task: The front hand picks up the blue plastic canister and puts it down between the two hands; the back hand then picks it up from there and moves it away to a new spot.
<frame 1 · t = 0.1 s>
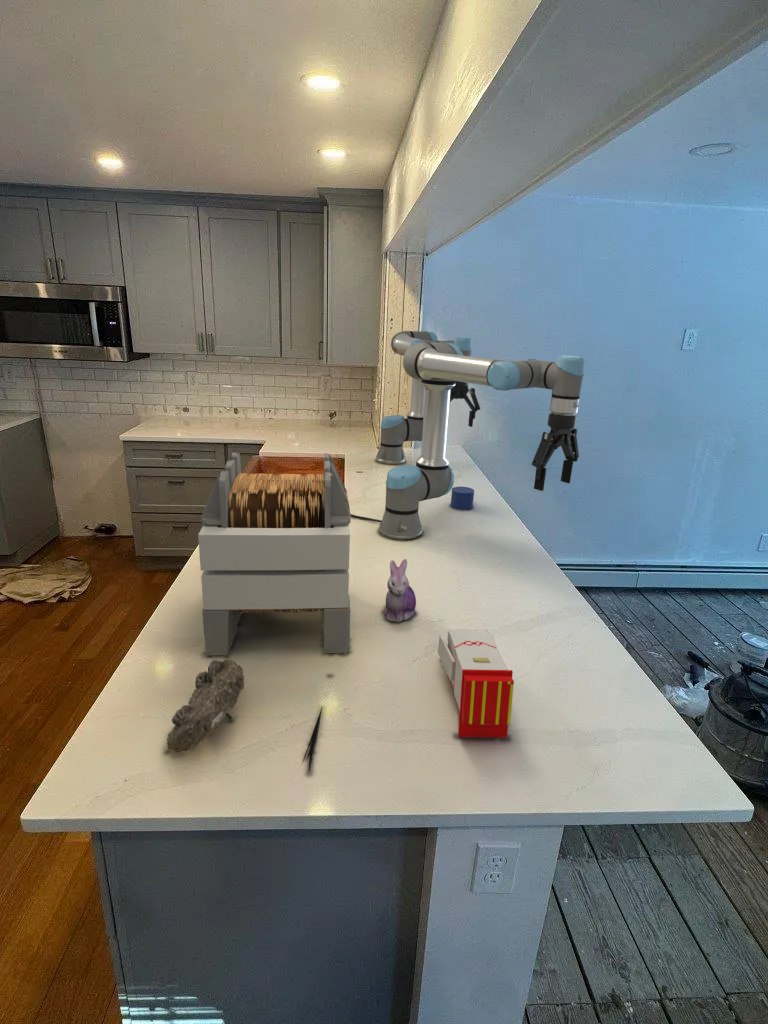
front hand: (552, 485, 166), 28 cm above the counter, tool pointing down, fingers open, 13 cm apart
back hand: (455, 426, 244), 28 cm above the counter, tool pointing down, fingers open, 13 cm apart
figurine: (399, 614, 147), on the counter
toy: (469, 691, 119), on the counter
fossil: (212, 717, 108), on the counter
transformer: (282, 618, 143), on the counter
canister: (461, 506, 231), on the counter
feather: (319, 719, 109), on the counter
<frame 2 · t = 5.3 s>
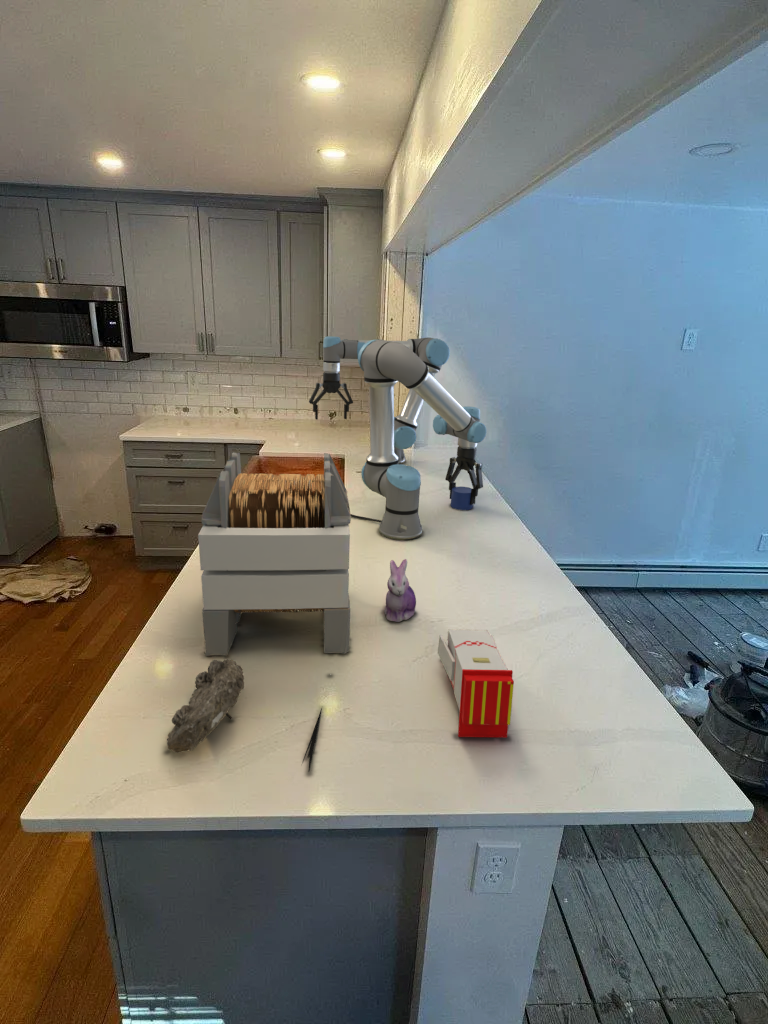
front hand: (462, 501, 230), 2 cm above the counter, tool pointing down, fingers closed on canister, 9 cm apart
back hand: (330, 418, 264), 25 cm above the counter, tool pointing down, fingers open, 13 cm apart
canister: (461, 506, 231), on the counter, touching front hand
everything else where it was.
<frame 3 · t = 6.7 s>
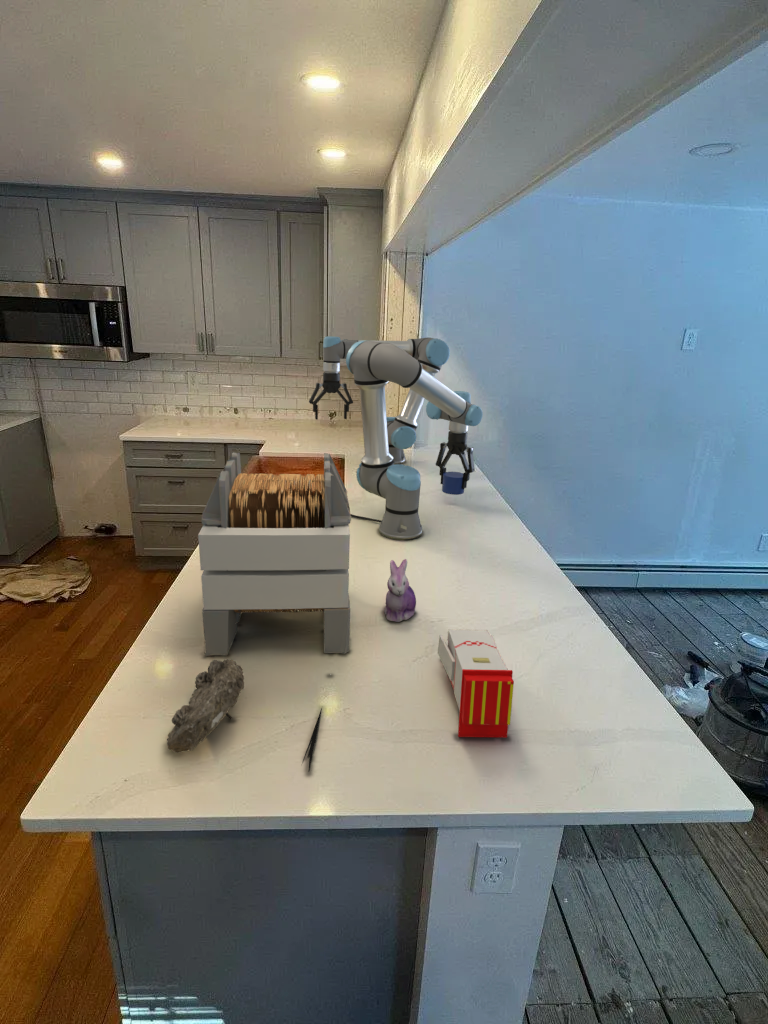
front hand: (453, 485, 231), 8 cm above the counter, tool pointing down, fingers closed on canister, 9 cm apart
back hand: (330, 418, 264), 25 cm above the counter, tool pointing down, fingers open, 13 cm apart
canister: (452, 491, 232), point 5 cm above the counter, touching front hand
everything else where it was.
when the front hand's fingers open (4 cm above the counter, at t = 8.4 s): canister drops 1 cm, on the counter.
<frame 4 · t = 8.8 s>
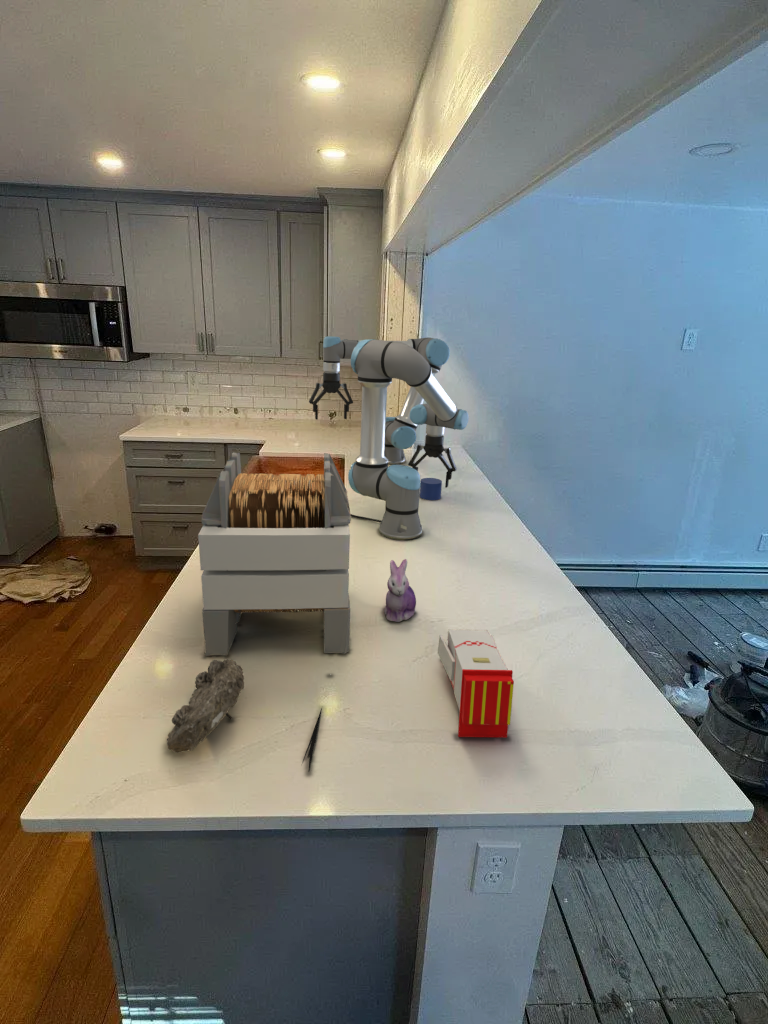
front hand: (430, 484, 239), 6 cm above the counter, tool pointing down, fingers open, 13 cm apart
back hand: (330, 418, 264), 25 cm above the counter, tool pointing down, fingers open, 13 cm apart
canister: (430, 496, 241), on the counter
everything else where it was.
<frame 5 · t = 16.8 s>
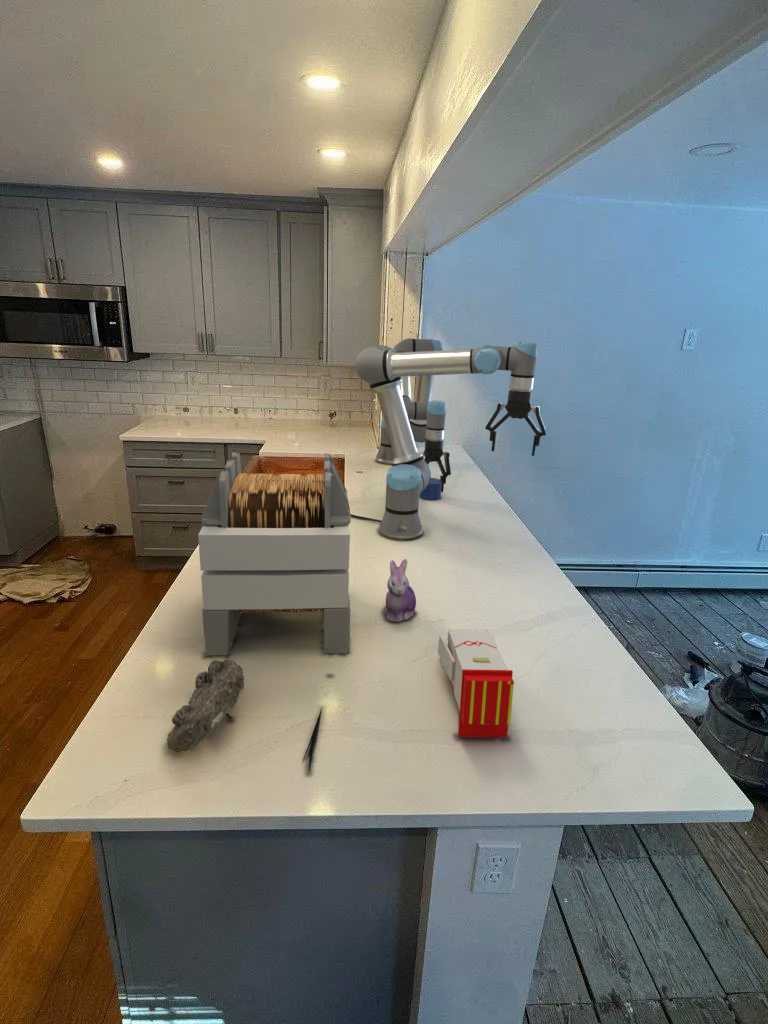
front hand: (512, 452, 194), 30 cm above the counter, tool pointing down, fingers open, 13 cm apart
back hand: (430, 491, 240), 2 cm above the counter, tool pointing down, fingers closed on canister, 9 cm apart
canister: (430, 496, 241), on the counter, touching back hand
everything else where it was.
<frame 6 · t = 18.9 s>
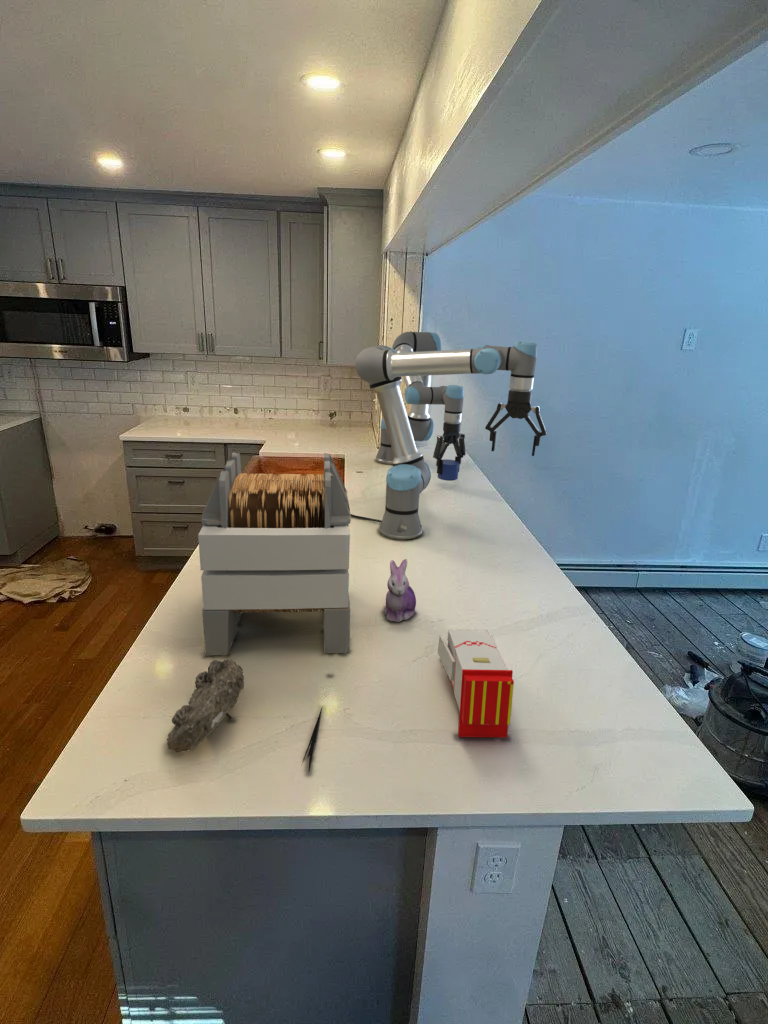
front hand: (512, 452, 194), 30 cm above the counter, tool pointing down, fingers open, 13 cm apart
back hand: (447, 472, 252), 7 cm above the counter, tool pointing down, fingers closed on canister, 9 cm apart
canister: (447, 477, 253), point 5 cm above the counter, touching back hand
everything else where it was.
when the back hand's fingers open (4 cm above the counter, at t = 21.0 s): canister drops 1 cm, on the counter.
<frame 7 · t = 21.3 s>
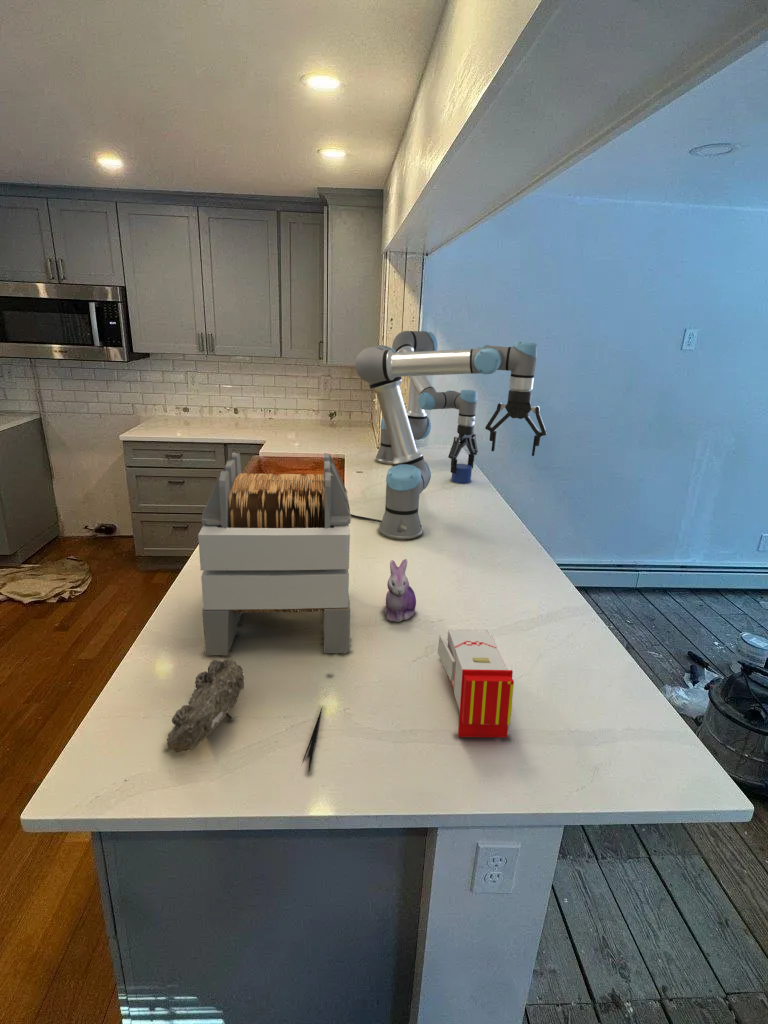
front hand: (512, 452, 194), 30 cm above the counter, tool pointing down, fingers open, 13 cm apart
back hand: (461, 470, 264), 5 cm above the counter, tool pointing down, fingers open, 13 cm apart
canister: (460, 480, 266), on the counter
everything else where it was.
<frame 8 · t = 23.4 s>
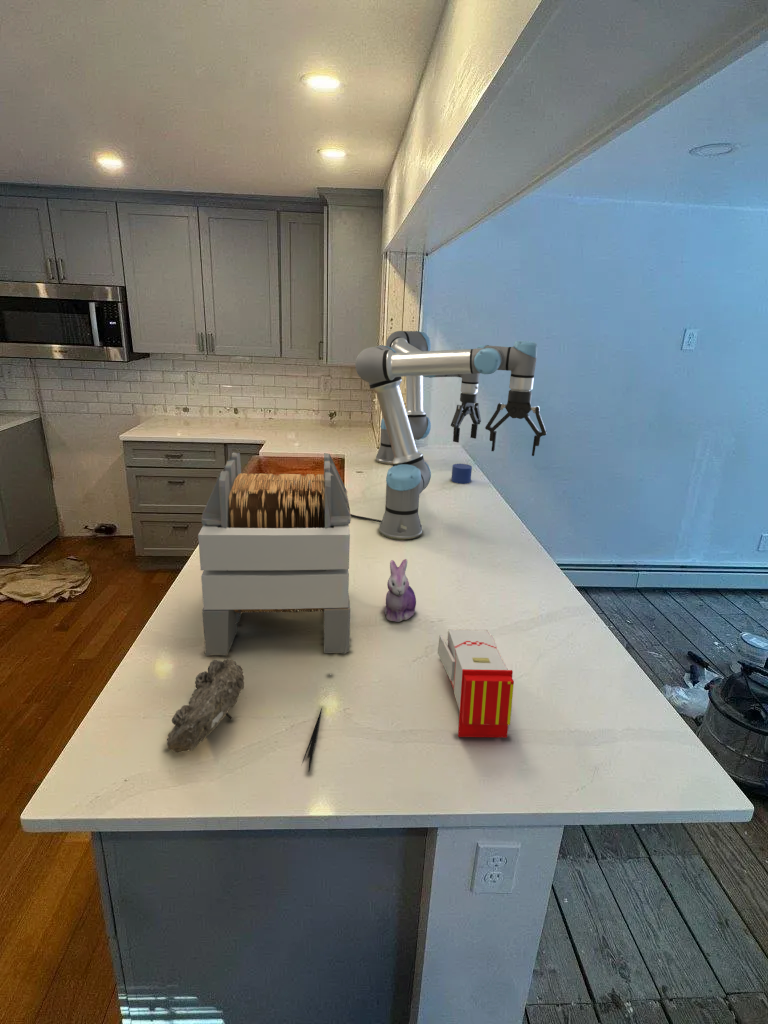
front hand: (512, 452, 194), 30 cm above the counter, tool pointing down, fingers open, 13 cm apart
back hand: (464, 440, 259), 19 cm above the counter, tool pointing down, fingers open, 13 cm apart
nothing on the counter moved.
at the end: canister inside the target area (0.0 cm from its centre), on the counter; canister tilted 0°; the two hands never held the canister at the same time; the front hand is holding nothing; the back hand is holding nothing; canister at rest at the end (0.0 cm/s) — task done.
